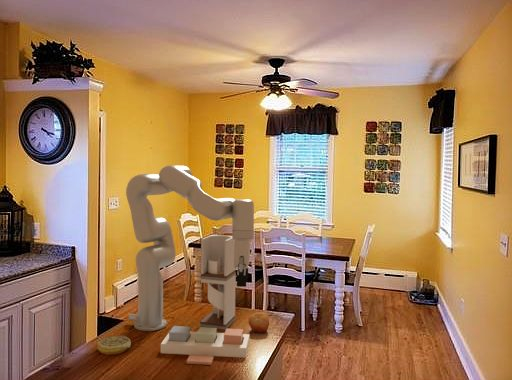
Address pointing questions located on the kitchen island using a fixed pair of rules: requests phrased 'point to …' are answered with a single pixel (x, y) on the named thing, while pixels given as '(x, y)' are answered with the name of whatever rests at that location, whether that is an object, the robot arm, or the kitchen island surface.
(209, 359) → the tile
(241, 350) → the keypad board
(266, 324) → the fruit
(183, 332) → the key slate blue
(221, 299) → the tiered shelf stand
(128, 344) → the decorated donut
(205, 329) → the key sage
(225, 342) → the key terracotta
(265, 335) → the kitchen island surface
